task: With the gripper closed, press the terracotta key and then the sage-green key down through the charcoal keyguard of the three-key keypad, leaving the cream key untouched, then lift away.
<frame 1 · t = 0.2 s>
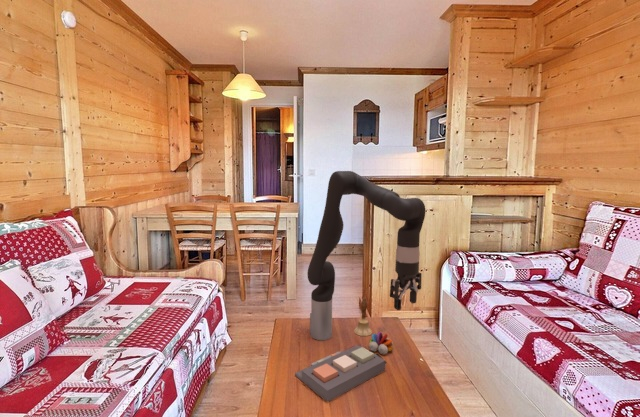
hand: (405, 305, 116), 29 cm above the table, tool pointing down, fingers open, 8 cm apart
smartphone: (365, 363, 134), on the table
hand bell: (363, 332, 158), on the table
keypad: (344, 375, 125), on the table
key sage: (362, 356, 130), point 4 cm above the table, slide at 0.0 cm
key terracotta: (325, 373, 119), point 4 cm above the table, slide at 0.0 cm
rainbow petal flower toy: (380, 350, 144), on the table
key cream: (344, 364, 125), point 4 cm above the table, slide at 0.0 cm
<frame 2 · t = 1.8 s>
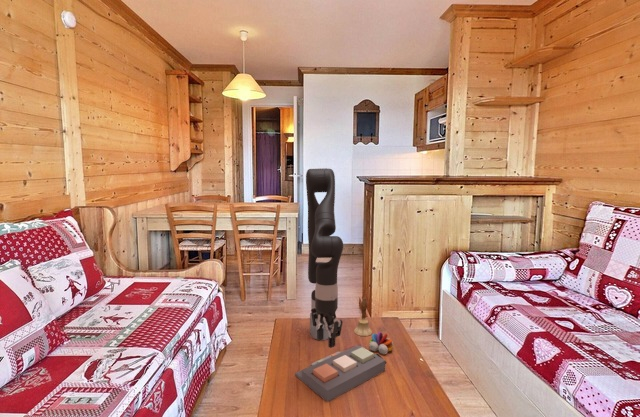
hand: (325, 342, 118), 15 cm above the table, tool pointing down, fingers open, 5 cm apart
nothing on the table moved.
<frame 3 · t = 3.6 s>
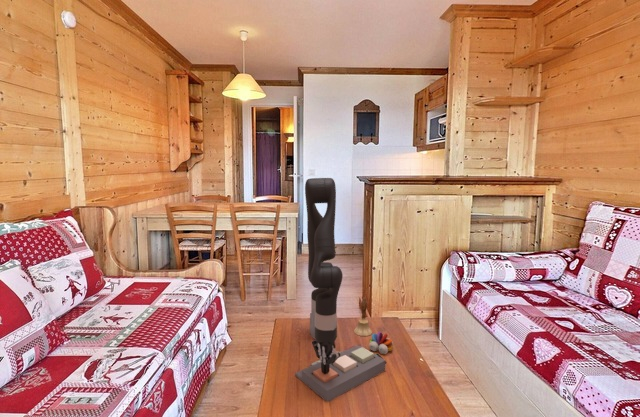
hand: (325, 372, 119), 5 cm above the table, tool pointing down, fingers closed
key terracotta: (325, 375, 119), point 4 cm above the table, slide at 0.7 cm, touching gripper
everything else where it was.
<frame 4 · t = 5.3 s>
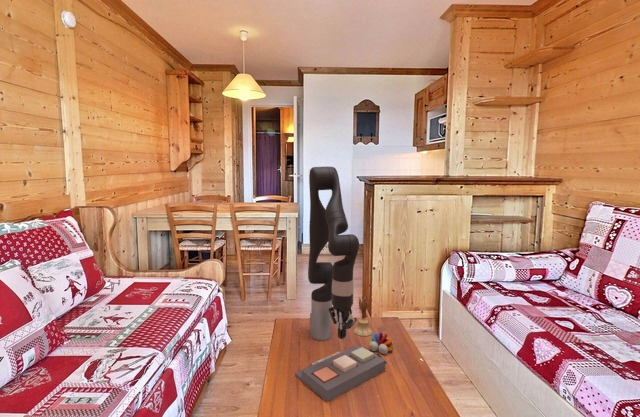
hand: (341, 337, 123), 15 cm above the table, tool pointing down, fingers closed
key terracotta: (325, 377, 119), point 3 cm above the table, slide at 1.2 cm
everything else where it was.
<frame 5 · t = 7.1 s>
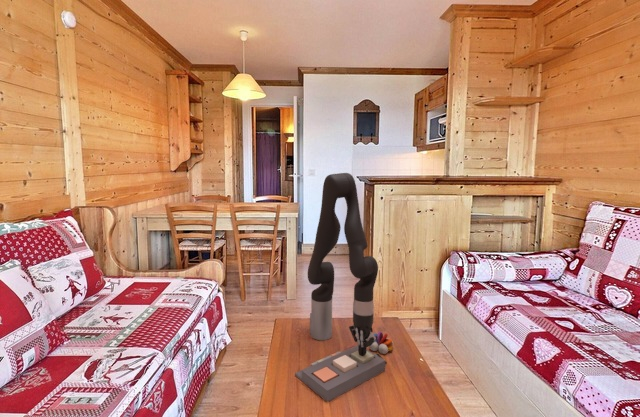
hand: (362, 354, 130), 5 cm above the table, tool pointing down, fingers closed
key sage: (362, 357, 131), point 4 cm above the table, slide at 0.6 cm, touching gripper
everything else where it was.
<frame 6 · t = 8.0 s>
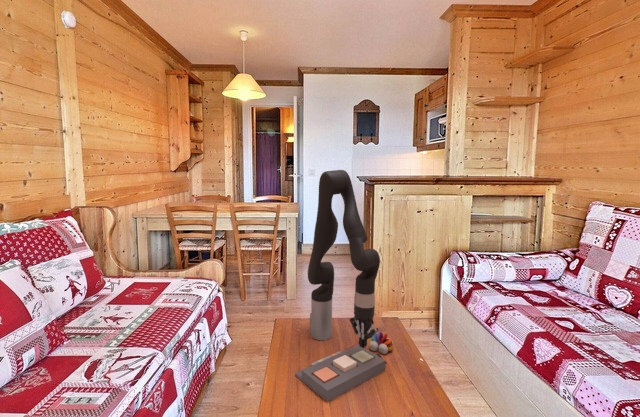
hand: (362, 346, 131), 8 cm above the table, tool pointing down, fingers closed
key sage: (362, 359, 131), point 3 cm above the table, slide at 1.2 cm
everything else where it was.
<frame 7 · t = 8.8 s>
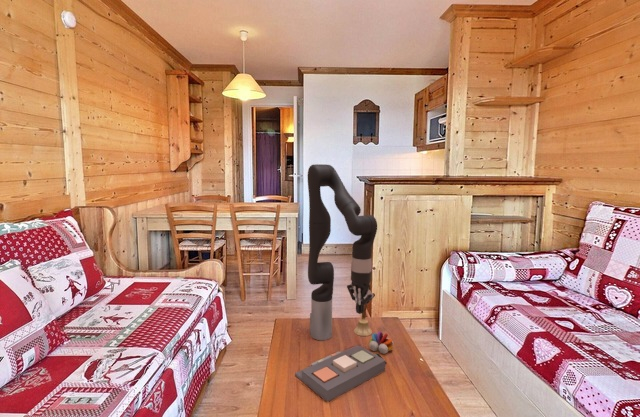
hand: (359, 312, 132), 20 cm above the table, tool pointing down, fingers closed
nothing on the table moved.
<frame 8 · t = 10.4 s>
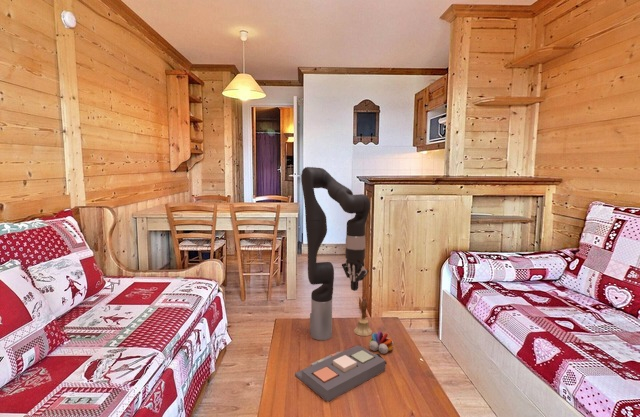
hand: (354, 289, 136), 27 cm above the table, tool pointing down, fingers closed
nothing on the table moved.
at the end: key terracotta slide at 1.2 cm; key sage slide at 1.2 cm; key cream slide at 0.0 cm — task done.
